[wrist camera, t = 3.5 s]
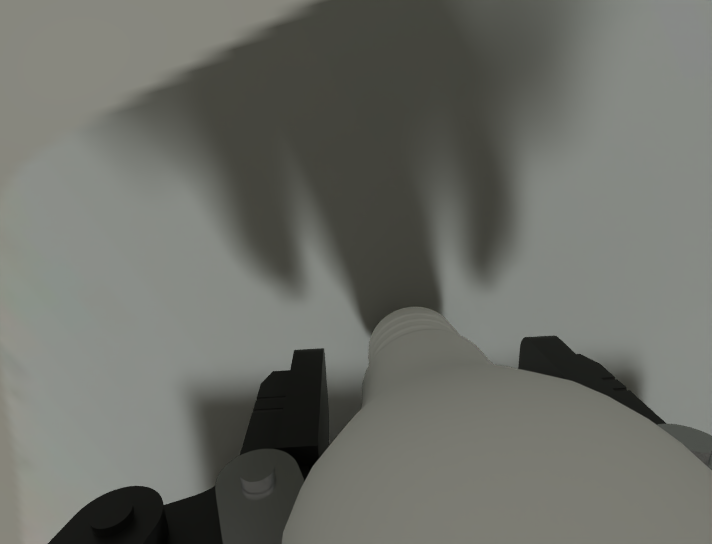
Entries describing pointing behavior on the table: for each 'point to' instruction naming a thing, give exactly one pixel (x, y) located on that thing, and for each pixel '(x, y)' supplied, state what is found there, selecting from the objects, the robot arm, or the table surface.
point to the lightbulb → (493, 457)
